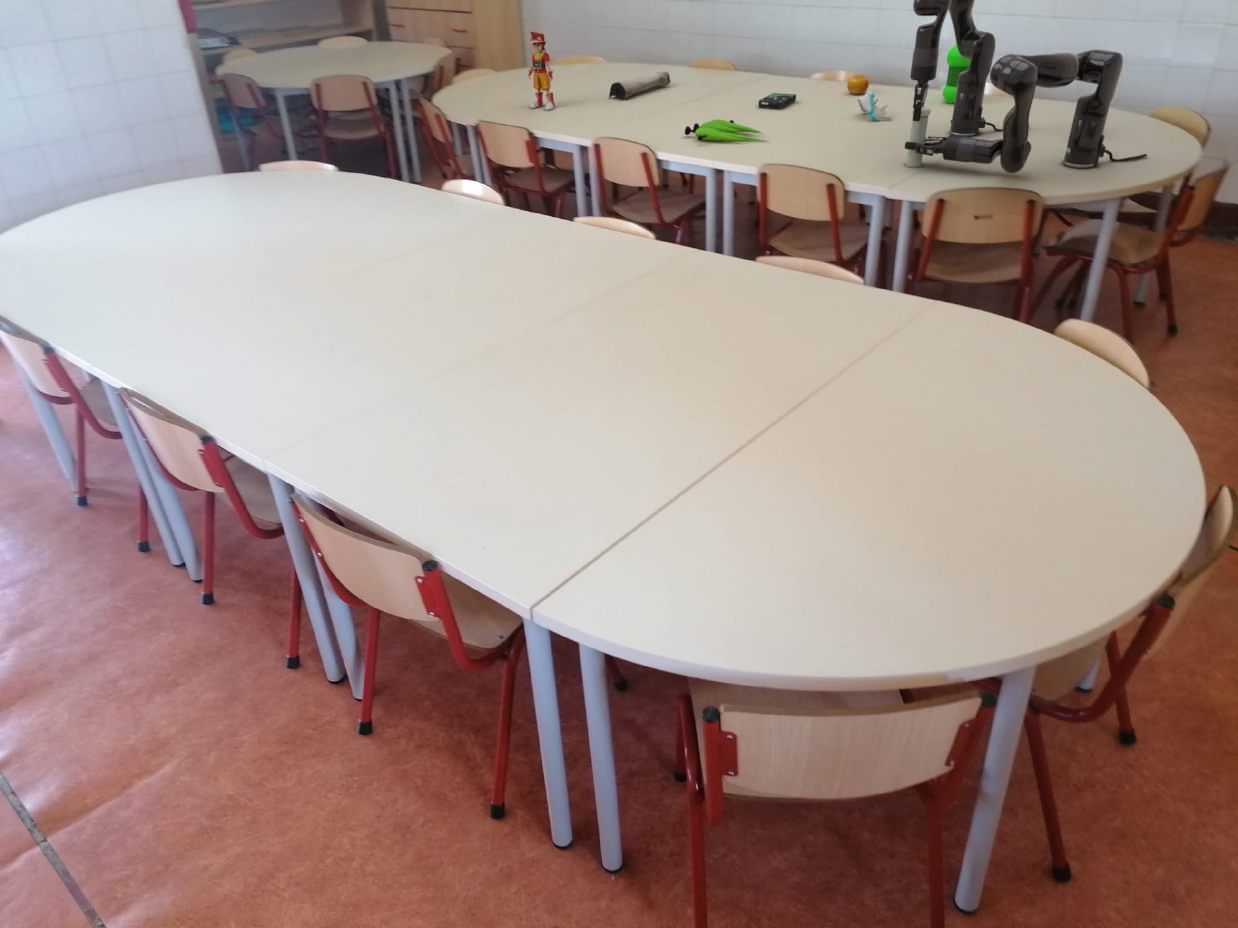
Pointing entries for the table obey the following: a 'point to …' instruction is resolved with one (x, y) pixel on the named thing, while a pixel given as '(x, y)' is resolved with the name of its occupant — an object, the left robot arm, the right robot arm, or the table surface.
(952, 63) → the green dumbbell-shaped cylinder
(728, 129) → the toy
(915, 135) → the jar
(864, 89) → the fruit
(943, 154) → the right robot arm
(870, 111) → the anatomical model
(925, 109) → the lid
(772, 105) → the disk drive
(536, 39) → the toy
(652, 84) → the rolled mat
